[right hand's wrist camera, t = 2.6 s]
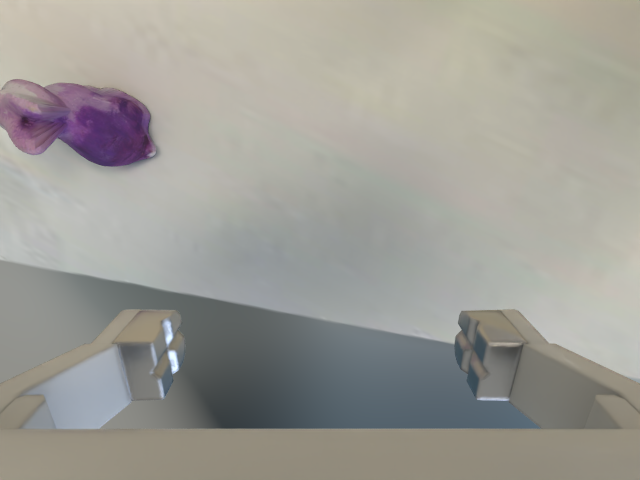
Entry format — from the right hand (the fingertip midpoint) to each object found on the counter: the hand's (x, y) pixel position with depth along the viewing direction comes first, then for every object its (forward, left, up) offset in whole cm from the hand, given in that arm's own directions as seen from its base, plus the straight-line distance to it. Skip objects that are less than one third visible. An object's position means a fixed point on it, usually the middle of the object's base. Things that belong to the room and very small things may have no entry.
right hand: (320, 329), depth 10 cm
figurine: (+10, -23, -36) cm, 44 cm away
